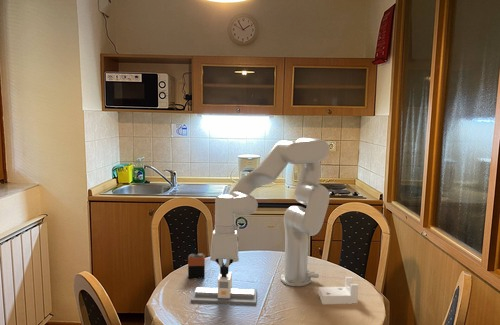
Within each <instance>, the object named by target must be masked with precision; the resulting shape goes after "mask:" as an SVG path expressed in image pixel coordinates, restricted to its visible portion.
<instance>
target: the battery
mask: <svg viewBox="0 0 500 325" xmlns="http://www.w3.org/2000/svg"><path fill="white" fill-rule="evenodd" d="M187 257H188V258H187V265H188V267H187V268H188V269H187V277H188V279H190V280H191V279H193V280H194V279H204V278H205V274H206V272H205V271H206V270H205V269H206V268H205V267H206V266H205V264H206V262H205V261H206V260H205V257H206V255H205V254H204V253H201V252H200V253H197V254H195V253H191V254H189V255H188V256H187Z"/></svg>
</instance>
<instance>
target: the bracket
mask: <svg viewBox="0 0 500 325" xmlns="http://www.w3.org/2000/svg"><path fill="white" fill-rule="evenodd" d="M353 279H354V278H353V277H352V276H345V278H344V286H318V289H317V295H318V296H319V298H320V302H321V304H322V305H353V304H352V303H357V304H358V298H359V295H358V294H359V284H358V283H354V280H353ZM346 303H347V304H346Z"/></svg>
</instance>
